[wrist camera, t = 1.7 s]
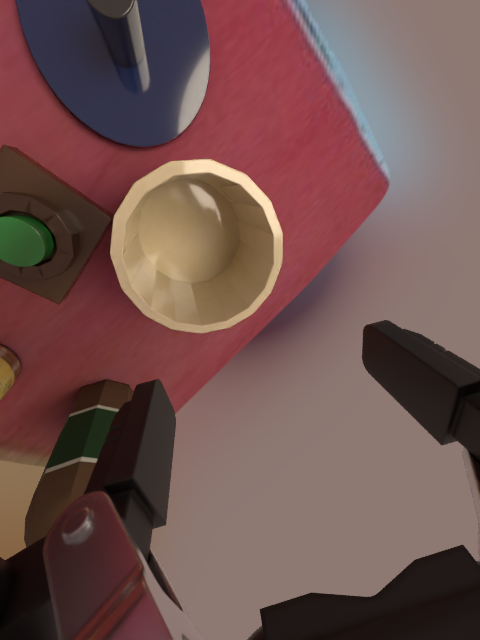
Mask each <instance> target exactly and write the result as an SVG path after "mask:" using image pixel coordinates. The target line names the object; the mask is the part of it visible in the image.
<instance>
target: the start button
mask: <svg viewBox="0 0 480 640" xmlns="http://www.w3.org/2000/svg"><path fill="white" fill-rule="evenodd" d="M53 248H54V242H53V238H52V236H51V234H50V232H49V231H48V229H47V228H46V227H45V226H44V225H43V224H41V223H40V222H39V221H37V220H35V219H34V218H31V217H28V216H25V215H10V216H4V217H0V259H1V260H2V261H4V262H6V263H8V264H11V265H14V266H19V267H29V266H33V265H36V264H38V263H39V262H41V261H43V260H45V259H46V258H48V257H49V256H50V255H51V253H52V251H53Z"/></svg>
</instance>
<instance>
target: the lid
mask: <svg viewBox="0 0 480 640" xmlns="http://www.w3.org/2000/svg"><path fill="white" fill-rule="evenodd" d="M16 5H17V10H18V14H19V19H20V23H21V26H22V29H23V33H24V36H25V39H26V41H27V44H28V46H29V49H30V51H31V54H32V56H33V58H34V60H35V62H36V64H37V66H38V68H39V70H40V71H41V73H42V75H43V76H44V78H45V79H46V81H47V83H48V84H49V86H50V87H51V88H52V90H53V91H54V92H55V94H56V95H57V96H58V98H59V99H60V100H61V101H62V102H63V104H64V105H65V106H66V107H67V108H68V109H69V110H70V111H71V112H72V113H73V114H74V115H75V116H76V117H77V118H78V119H80V120H81V121H82V122H83V123H84V124H86V125H87V126H88V127H90V128H91V129H92V130H94V131H95V132H97V133H99V134H100V135H102V136H104V137H106V138H108V139H110V140H112V141H114V142H117V143H120V144H124V145H127V146H133V147H154V146H159V145H162V144H165V143H168V142H170V141H172V140H174V139H175V138H177V137H178V136H179V135H181V134H182V133H183V132H184V131H185V130H186V129H187V128H188V127H189V126H190V124H191V123H192V122H193V120H194V119H195V117H196V115H197V114H198V112H199V110H200V108H201V105H202V103H203V100H204V97H205V94H206V90H207V86H208V80H209V73H210V43H209V35H208V28H207V24H206V19H205V15H204V11H203V8H202V5H201V1H200V0H16Z"/></svg>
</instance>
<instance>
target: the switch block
mask: <svg viewBox="0 0 480 640" xmlns="http://www.w3.org/2000/svg"><path fill="white" fill-rule="evenodd" d="M10 215H25V216H28V217H31V218H34V219H35V220H37V221H39V222H40V223H41V224H43V225H44V226H45V227H46V228H47V229H48V231H49V232H50V234H51V236H52V238H53V242H54V248H53V251H52V253H51V255H50V256H49V257H48V258H46V259H45V260H43V261H41V262H39V263H38V264H36V265H33V266H29V267H19V266H14V265H11V264H8V263H6V262H4V261H2V260H1V259H0V277H1V278H3V279H5V280H8V281H10V282H12V283H14V284H16V285H18V286H21V287H23V288H25V289H27V290H29V291H31V292H33V293H36V294H38V295H40V296H42V297H44V298H46V299H49V300H51V301H53V302H55V303H57V304H60V303H61V302H62V301H63V300H64V299H65V298H66V296H67V295H68V293H69V292H70V290H71V288H72V287H73V285H74V283H75V282H76V280H77V279H78V277H79V275H80V274H81V272H82V270H83V269H84V267H85V266H86V264H87V262H88V261H89V259H90V257H91V256H92V254H93V253H94V251H95V249H96V248H97V246H98V244H99V243H100V241H101V240H102V238H103V236H104V235H105V233H106V231H107V230H108V228H109V226H110V225H111V223H112V222H113V217H114V216H113V215H112V214H110V213H109V212H107V211H106V210H105V209H103V208H102V207H100V206H99V205H97V204H96V203H94V202H93V201H92V200H90V199H89V198H87V197H86V196H84V195H83V194H82V193H80V192H79V191H77V190H76V189H74V188H73V187H71V186H70V185H69V184H67V183H66V182H64V181H63V180H61V179H60V178H58V177H57V176H56V175H54V174H53V173H51V172H50V171H48V170H47V169H45V168H44V167H43V166H41V165H40V164H38V163H37V162H35V161H34V160H33V159H31V158H30V157H28V156H27V155H25V154H24V153H22V152H21V151H20V150H18V149H17V148H14V147H11V146H7V145H3V146H2V149H1V151H0V217H4V216H10Z"/></svg>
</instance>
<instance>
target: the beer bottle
mask: <svg viewBox="0 0 480 640" xmlns="http://www.w3.org/2000/svg"><path fill="white" fill-rule="evenodd" d="M132 397H133V392H132V390H131V389H130V387H129V385H125V384H121V383H117V382H113V381H110V380H104V381H101V382H98V383H95V384H92V385H89V386H85V387H83V388H82V389H81V391H80V393H79V395H78V397H77V399H76V401H75V403H74V405H73V407H72V409H71V411H70V413H69V415H68V417H67V419H66V421H65V424H64V426H63V428H62V431H61V433H60V435H59V438H58V440H57V442H56V444H55V447H54V449H53V451H52V454H51V456H50V458H49V461H48V463H47V465H46V467H45V470H44V472H43V475H42V477H41V479H40V481H39V484H38V486H37V488H36V490H35V493H34V495H33V498H32V501H31V504H30V506H29V510H28V512H27V515H26V518H25V536H24V540H25V543H26V547H28V546H30V545H32V544H33V543H35V542H37V541H38V540H40V539H42V538H43V537H45V536H46V535H47V534H48V532H49V530H50V528H51V527H52V525H53V523H54V522H55V520H56V519H57V518H58V517H59V515H60V514H61V513H62V512H63V511H64V510H65V509H66V508H67V507H68V506H69V505H70V504H71V503H72V502H74V501H75V500H76V499H78V498H79V497H81V496H83V494H84V492H85V490H86V487H87V485H88V482H89V480H90V477H91V474H92V472H93V469H94V467H95V464H96V462H97V459H98V457H99V454H100V452H101V449H102V446H103V444H104V443H105V439H106V436H107V434H108V432H109V431H110V426H111V423H112V421H113V418H114V416H115V414H116V413H117V412H118V410H119V409H120V408H121V407H122V405H123V404H124V403H125V402H128V401H131V400H132Z"/></svg>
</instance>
